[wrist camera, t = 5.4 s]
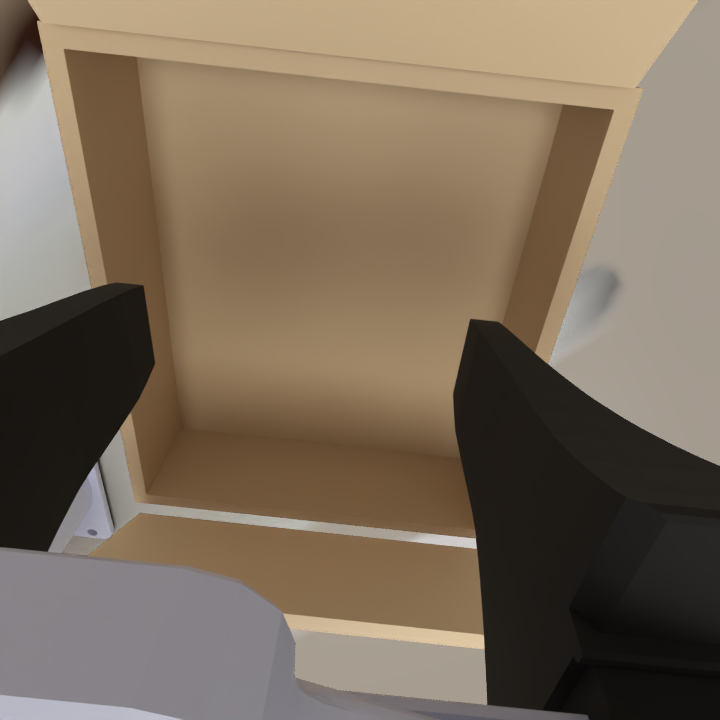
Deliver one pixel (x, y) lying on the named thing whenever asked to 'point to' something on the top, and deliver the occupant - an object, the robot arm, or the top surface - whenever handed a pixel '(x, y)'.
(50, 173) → the top surface
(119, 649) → the robot arm
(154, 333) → the carton
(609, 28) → the flap
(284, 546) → the flap
